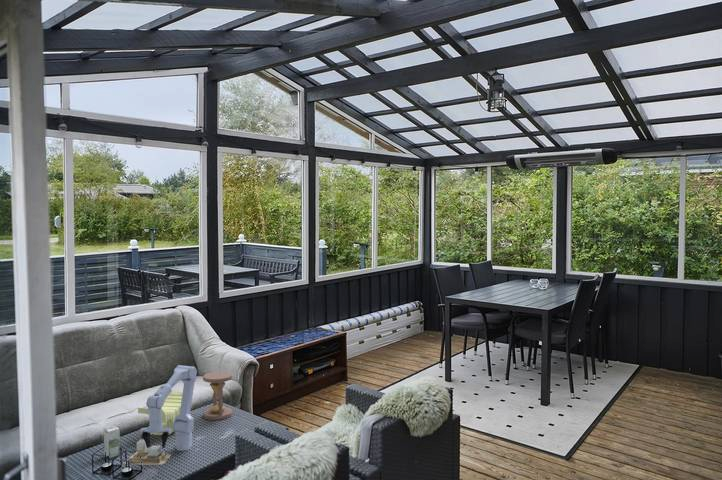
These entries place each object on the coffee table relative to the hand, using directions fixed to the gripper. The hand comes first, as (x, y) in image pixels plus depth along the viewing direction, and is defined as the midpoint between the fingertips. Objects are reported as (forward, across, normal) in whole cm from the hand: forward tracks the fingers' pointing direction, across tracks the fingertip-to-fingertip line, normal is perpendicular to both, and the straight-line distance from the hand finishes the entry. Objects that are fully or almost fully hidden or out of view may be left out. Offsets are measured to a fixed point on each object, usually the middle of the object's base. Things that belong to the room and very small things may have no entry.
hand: (156, 447), depth 271 cm
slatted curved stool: (+10, -13, +46) cm, 49 cm away
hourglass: (+10, +10, +72) cm, 74 cm away
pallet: (+10, -7, +6) cm, 13 cm away
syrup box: (+10, -28, +12) cm, 32 cm away
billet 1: (+10, -14, +16) cm, 24 cm away
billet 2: (+9, -3, +6) cm, 11 cm away
